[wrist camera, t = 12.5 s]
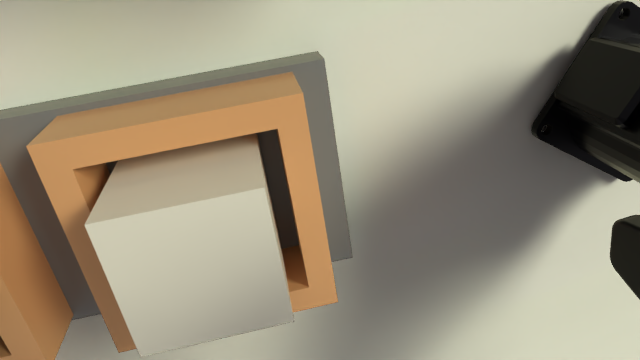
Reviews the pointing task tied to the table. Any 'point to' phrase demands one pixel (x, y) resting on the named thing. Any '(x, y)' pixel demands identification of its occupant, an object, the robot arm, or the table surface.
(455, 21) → the table surface
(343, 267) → the table surface
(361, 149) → the table surface
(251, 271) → the orange and grey housing
